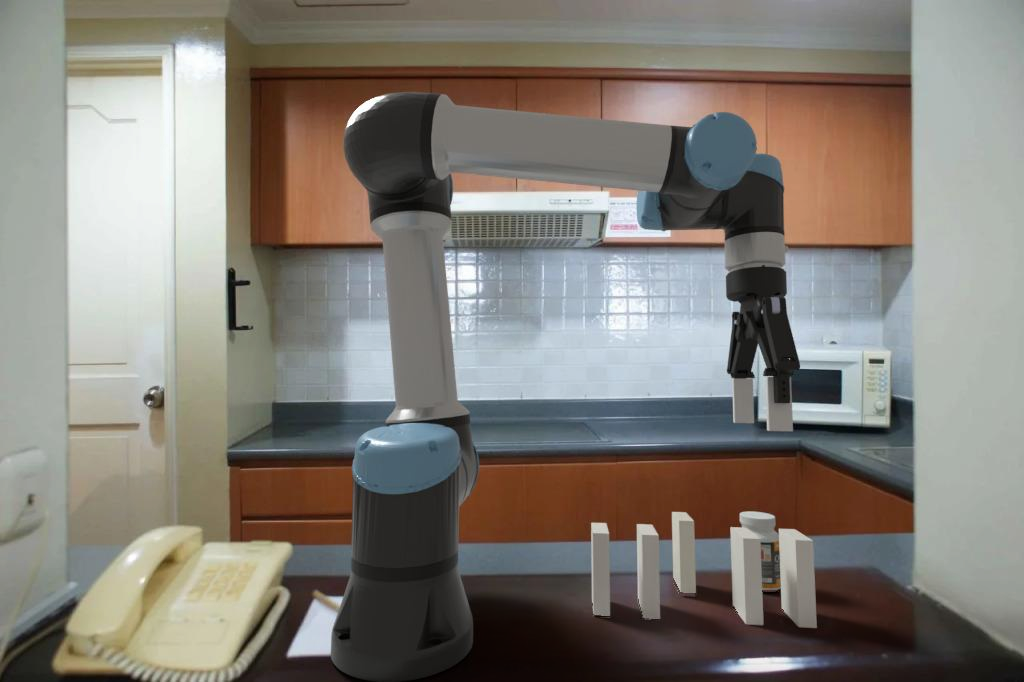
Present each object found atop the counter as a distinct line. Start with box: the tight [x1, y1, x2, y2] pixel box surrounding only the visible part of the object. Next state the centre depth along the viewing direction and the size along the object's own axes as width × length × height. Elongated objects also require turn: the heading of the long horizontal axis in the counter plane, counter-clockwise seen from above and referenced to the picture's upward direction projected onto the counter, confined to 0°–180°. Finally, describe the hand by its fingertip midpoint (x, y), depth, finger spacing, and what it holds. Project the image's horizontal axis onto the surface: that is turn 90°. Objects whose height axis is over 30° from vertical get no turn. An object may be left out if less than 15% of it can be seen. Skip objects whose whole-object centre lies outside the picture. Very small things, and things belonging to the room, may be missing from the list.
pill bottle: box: [739, 510, 781, 590], centre depth 74 cm, size 6×6×10 cm
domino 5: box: [778, 528, 818, 629], centre depth 64 cm, size 2×5×10 cm, turn 174°
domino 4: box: [730, 526, 765, 626], centre depth 65 cm, size 2×5×10 cm, turn 174°
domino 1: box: [590, 522, 611, 617], centre depth 67 cm, size 2×5×10 cm, turn 174°
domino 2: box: [636, 523, 661, 620], centre depth 66 cm, size 2×5×10 cm, turn 174°
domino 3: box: [671, 511, 697, 594], centre depth 73 cm, size 2×5×10 cm, turn 174°
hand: (760, 426), depth 69 cm, fingers open, 13 cm apart
